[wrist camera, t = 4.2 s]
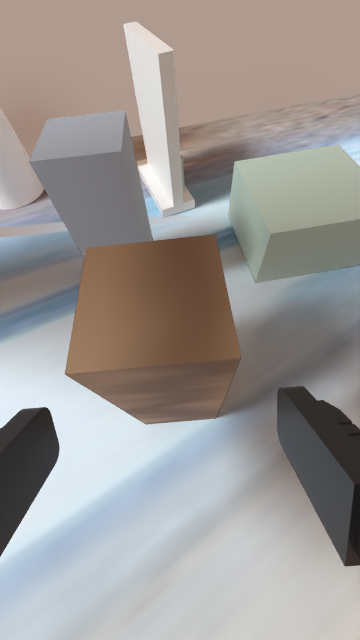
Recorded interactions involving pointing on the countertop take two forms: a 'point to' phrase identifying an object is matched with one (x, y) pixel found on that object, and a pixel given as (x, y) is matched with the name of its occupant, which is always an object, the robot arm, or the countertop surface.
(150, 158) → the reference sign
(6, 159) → the cylindrical container
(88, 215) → the slate block
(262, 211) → the sage base block
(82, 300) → the walnut block
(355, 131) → the countertop surface
